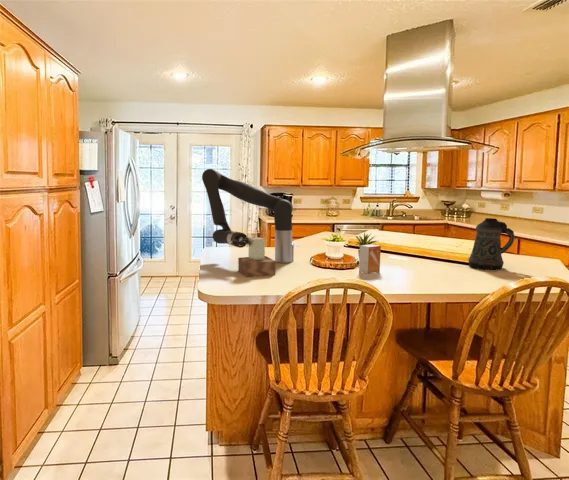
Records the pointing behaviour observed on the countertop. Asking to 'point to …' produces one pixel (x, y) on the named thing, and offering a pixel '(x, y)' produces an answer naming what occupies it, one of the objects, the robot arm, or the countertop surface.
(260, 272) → the walnut block
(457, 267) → the countertop surface
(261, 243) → the sage tea tin
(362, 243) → the house plant
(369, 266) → the small box
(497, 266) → the beer stein
